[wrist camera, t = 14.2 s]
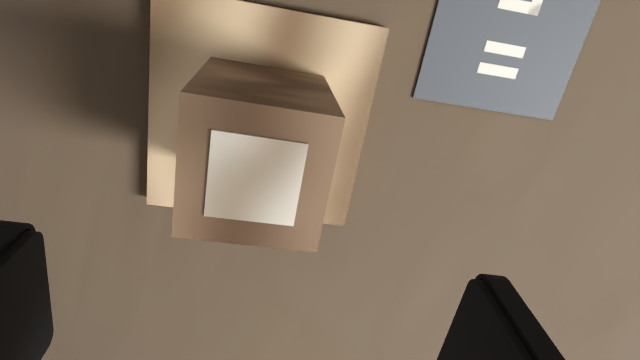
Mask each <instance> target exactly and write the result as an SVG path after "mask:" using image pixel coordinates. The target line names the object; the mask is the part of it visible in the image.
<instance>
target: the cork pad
mask: <svg viewBox="0 0 640 360" xmlns="http://www.w3.org/2000/svg"><path fill="white" fill-rule="evenodd" d="M388 32H389V28H386V27H382V26H376V25H371V24H366V23H360V22H355V21H349V20H344V19H339V18H333V17H328V16H323V15H317V14H312V13H306V12H301V11H296V10H290V9H285V8H279V7H274V6H269V5H263V4H258V3H252V2H247V1H242V0H151V6H150V58H149V109H148V160H147V204H149V205H158V206H168V207H173V204H174V186H175V168H176V151H177V133H178V115H179V98H180V91H181V90H182V89H183V88H184V87H185V85H186V84H187V83H188V82H189V81H190V80H191V79H192V78H193V76H194V75H195V74H196V73H197V72H198V71H199V70H200V69H201V67H202V66H203V65H204V64H205V63H206V62H207V61H208V60H209V58H210V57H215V58H221V59H227V60H233V61H239V62H245V63H250V64H256V65H262V66H268V67H274V68H280V69H285V70H291V71H297V72H303V73H309V74H315V75H320V76H324V77H325V79H326V81H327V83H328V85H329V87H330V89H331V91H332V92H333V94H334V96H335V98H336V100H337V102H338V104H339V106H340V108H341V110H342V112H343V114H344V116H345V123H344V128H343V132H342V137H341V142H340V146H339V151H338V156H337V160H336V165H335V170H334V174H333V179H332V184H331V188H330V193H329V198H328V202H327V207H326V211H325V216H324V221H323V224H333V225H342V226H344V224H345V220H346V216H347V211H348V207H349V202H350V198H351V194H352V189H353V185H354V181H355V176H356V172H357V167H358V163H359V159H360V154H361V150H362V146H363V141H364V137H365V132H366V128H367V124H368V119H369V115H370V111H371V106H372V102H373V97H374V93H375V89H376V84H377V80H378V76H379V71H380V67H381V62H382V58H383V54H384V49H385V45H386V41H387V36H388Z"/></svg>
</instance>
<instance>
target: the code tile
mask: <svg viewBox="0 0 640 360" xmlns="http://www.w3.org/2000/svg"><path fill="white" fill-rule="evenodd" d="M600 1H601V0H438V4H437V8H436V12H435V15H434V19H433V23H432V27H431V30H430V34H429V38H428V42H427V46H426V49H425V53H424V57H423V61H422V64H421V68H420V72H419V76H418V80H417V83H416V87H415V91H414V95H413V98H417V99H423V100H429V101H436V102H442V103H448V104H454V105H461V106H467V107H473V108H479V109H485V110H492V111H498V112H504V113H510V114H517V115H523V116H529V117H535V118H542V119H548V120H553V118H554V115H555V113H556V110H557V108H558V105H559V103H560V100H561V98H562V95H563V93H564V90H565V88H566V86H567V83H568V81H569V78H570V76H571V73H572V71H573V68H574V66H575V63H576V61H577V58H578V56H579V53H580V51H581V48H582V46H583V43H584V41H585V38H586V36H587V34H588V31H589V29H590V26H591V24H592V21H593V19H594V16H595V14H596V11H597V9H598V6H599V4H600Z"/></svg>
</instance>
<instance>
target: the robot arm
mask: <svg viewBox="0 0 640 360" xmlns="http://www.w3.org/2000/svg"><path fill="white" fill-rule="evenodd" d="M52 337H53V321H52V311H51V302H50V293H49V284H48V275H47V266H46V257H45V248H44V239H43V235H42V233H40V232H36V231H35V228H34V226H33V225H32V224H29V223H20V222H11V221H2V220H1V221H0V360H41V358H42V357H43V355H44V354H45V352H46V351H47V349H48V347H49V345H50V343H51V340H52ZM437 360H565V359H564V357H563V356H562V355H561V353H560V352H559V350H558V349H557V348H556V346H555V345H554V343H553V342H552V340H551V339H550V338H549V336H548V335H547V333H546V332H545V331H544V329H543V328H542V326H541V325H540V323H539V322H538V321H537V319H536V318H535V316H534V315H533V314H532V312H531V311H530V309H529V308H528V307H527V305H526V304H525V302H524V301H523V299H522V298H521V297H520V295H519V294H518V292H517V291H516V290H515V288H514V287H513V285H512V284H511V282H510V281H509V280H508V279H507V278H506V277H504V276H497V275H488V274H479V275H478V276H477V277H476V278H475V279H471V280H470V281H469V282H468V284H467V287H466V289H465V292H464V294H463V297H462V299H461V302H460V304H459V306H458V309H457V311H456V314H455V316H454V319H453V321H452V324H451V326H450V329H449V331H448V334H447V336H446V338H445V341H444V343H443V346H442V348H441V351H440V353H439V356H438V358H437Z"/></svg>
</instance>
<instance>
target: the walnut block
mask: <svg viewBox="0 0 640 360" xmlns="http://www.w3.org/2000/svg"><path fill="white" fill-rule="evenodd" d="M344 123H345V116H344V114H343V112H342V110H341V108H340V106H339V104H338V102H337V100H336V98H335V96H334V94H333V92H332V91H331V89H330V87H329V85H328V83H327V81H326V79H325V77H324V76H320V75H315V74H309V73H303V72H297V71H291V70H285V69H280V68H274V67H268V66H262V65H256V64H250V63H245V62H239V61H233V60H227V59H221V58H215V57H210V58H209V60H208V61H207V62H206V63H205V64H204V65H203V66H202V67H201V69H200V70H199V71H198V72H197V73H196V74H195V75H194V76H193V78H192V79H191V80H190V81H189V82H188V83H187V84H186V85H185V87H184V88H183V89H182V90H181V91H180V98H179V115H178V133H177V151H176V168H175V186H174V204H173V221H172V237H175V238H184V239H194V240H203V241H213V242H222V243H232V244H241V245H251V246H260V247H270V248H279V249H289V250H298V251H308V252H317V249H318V244H319V239H320V235H321V230H322V225H323V221H324V216H325V211H326V207H327V202H328V198H329V193H330V188H331V184H332V179H333V174H334V170H335V165H336V160H337V156H338V151H339V146H340V142H341V137H342V132H343V128H344Z"/></svg>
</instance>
